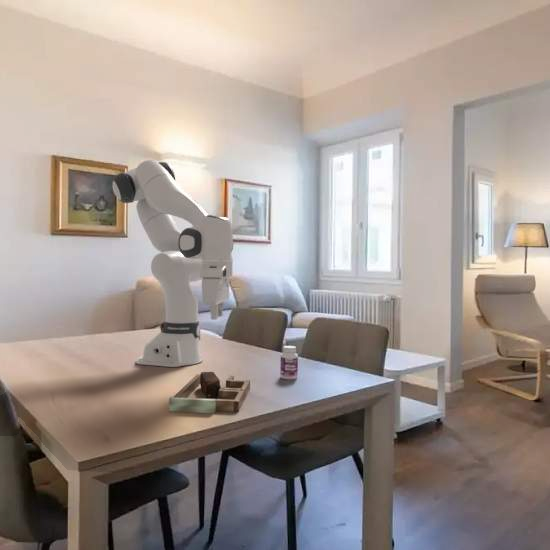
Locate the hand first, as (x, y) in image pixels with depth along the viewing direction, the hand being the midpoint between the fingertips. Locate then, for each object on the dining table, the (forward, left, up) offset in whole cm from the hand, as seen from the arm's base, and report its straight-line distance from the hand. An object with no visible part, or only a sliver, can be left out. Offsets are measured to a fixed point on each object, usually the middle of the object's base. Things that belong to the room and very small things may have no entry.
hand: (216, 317), depth 136 cm
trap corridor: (+3, -14, -19) cm, 24 cm away
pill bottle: (+21, +9, -19) cm, 30 cm away
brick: (0, -10, -20) cm, 22 cm away
